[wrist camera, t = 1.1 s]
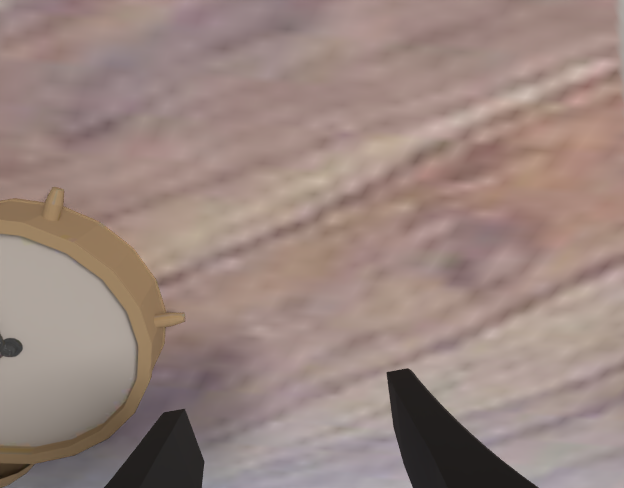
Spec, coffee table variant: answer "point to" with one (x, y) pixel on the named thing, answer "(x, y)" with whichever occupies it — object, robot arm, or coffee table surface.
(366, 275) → the coffee table surface
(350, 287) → the coffee table surface
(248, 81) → the coffee table surface
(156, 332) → the alarm clock
